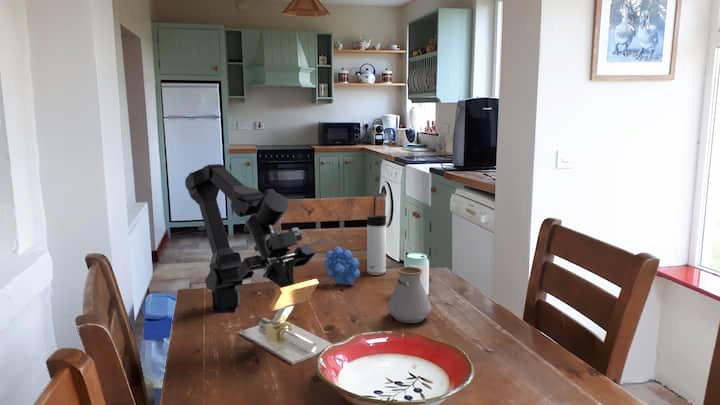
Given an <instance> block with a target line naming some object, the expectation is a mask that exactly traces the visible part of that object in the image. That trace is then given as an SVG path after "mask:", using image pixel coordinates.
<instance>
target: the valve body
mask: <svg viewBox="0 0 720 405" xmlns="http://www.w3.org/2000/svg"><path fill="white" fill-rule="evenodd" d="M239 335H241V336H243V337H245V338H246V339H248V340H250V341H251V342H253V343H255V344H257V345H258V346H259V347H262V348H264V349H265V350H267V351H269V352H270V353H272V354H274V355H275V356H277V357H279V358H280V359H282V360H284V361H285V362H287V363H289V364H291V365H295V364H297V363H301V362H303V361H306V360H308V359H311V358H314V357H315V356H319V355H320V354H319V353H320V352H321V351H322V350H323V349H324V348H326V347H327V346H329V345H332V344H333V343H331V342H329V341H327V340H325V339H324V338H321V337H319V336H317V335H315V334H313V333H312V332H309V331H307V330H305V329H303V328H301V327H299V326H297V325H296V324H293V323H292V322H288V321H286V320H285V322H283V323H280V324H277V325H273V324H272V319H271V320H270V319H269V318H266V317H261V318H260V319H259V321H258V325H256V326H252V327H248V328H246V329H243V330H239ZM318 354H319V355H318Z"/></svg>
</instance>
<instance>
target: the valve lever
mask: <svg viewBox="0 0 720 405" xmlns="http://www.w3.org/2000/svg"><path fill="white" fill-rule="evenodd" d="M318 285H319V281H318V279H317V278H315V279H311V280H307V281H303V282H299V283H294V285H291V286H287V287H283V288H281V287H279V289H278V290H277V292H276V294H275V296H274V298H273V299H272V301H271V302H270V305H269V306H268V308H269V309H270V310H271V312H274V311H276V310H277V311H276V313H275V314H274V316H273V317H274V318H271V320H272V324H273V325H277V324H280V323H283V322H285V321H286V320H287V319H288V317H289V315H290V314H291V312H292V311H293V309H294V307H295V305H297V304H298V305H299V304H301V303H305V302H307V301H308V300H309V299H310V298H311V296H312V294H313V293H314V291H315V290H316V288H317V286H318Z"/></svg>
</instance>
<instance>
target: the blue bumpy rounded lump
mask: <svg viewBox="0 0 720 405" xmlns="http://www.w3.org/2000/svg"><path fill="white" fill-rule="evenodd" d="M325 256H326V258H327V259H324V260H323V265H324V268H326V269H327V276H328V277H329V278H330V279H336V282H337V283H338V284H339V285H345V284H346V283H347V284H349V285H353V284H354V283H355V281H356V279H357V278H360V276H361V271H360V270H359V267H360V261H359V260H358V259H357V258H355V257H353V256H354V255H353V253H352V252H351V250H348V249H345V250H343V249H342V248H341V247H339V246H335V247H334V248H333V250H328V251H326V252H325Z"/></svg>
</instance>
